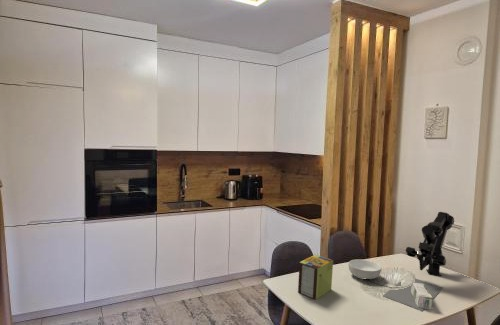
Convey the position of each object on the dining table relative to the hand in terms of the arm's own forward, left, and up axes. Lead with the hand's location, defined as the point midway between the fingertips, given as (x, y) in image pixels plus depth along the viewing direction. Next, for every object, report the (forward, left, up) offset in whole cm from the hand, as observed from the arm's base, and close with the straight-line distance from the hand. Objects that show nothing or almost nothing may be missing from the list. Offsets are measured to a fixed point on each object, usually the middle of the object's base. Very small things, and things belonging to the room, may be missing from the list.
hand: (420, 269), depth 169 cm
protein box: (+23, -53, -10) cm, 58 cm away
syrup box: (+9, -3, -6) cm, 12 cm away
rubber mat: (+7, -4, -9) cm, 12 cm away
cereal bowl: (-3, -28, -10) cm, 29 cm away
